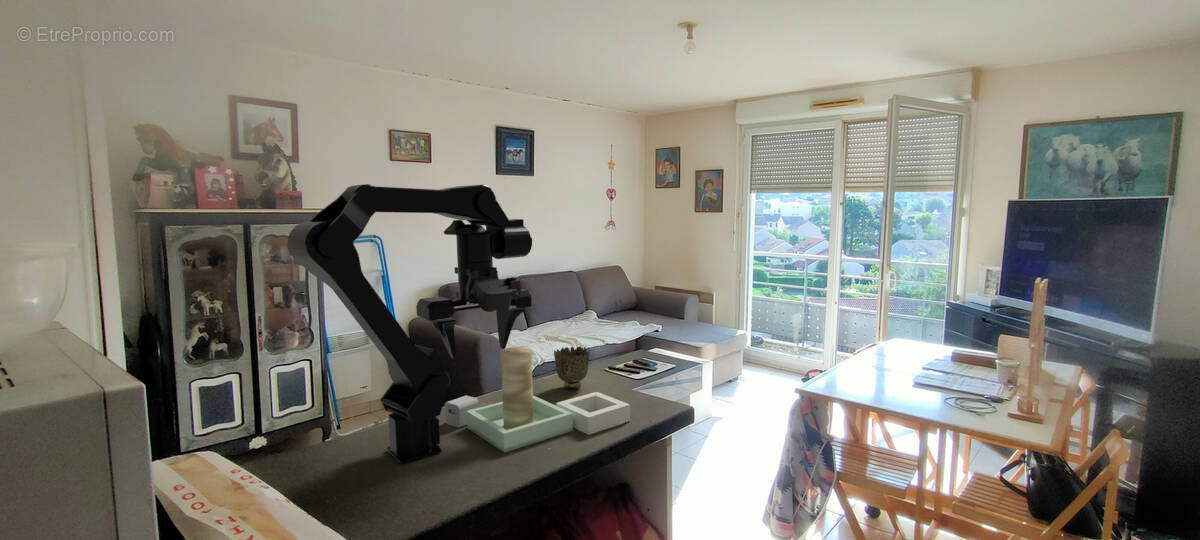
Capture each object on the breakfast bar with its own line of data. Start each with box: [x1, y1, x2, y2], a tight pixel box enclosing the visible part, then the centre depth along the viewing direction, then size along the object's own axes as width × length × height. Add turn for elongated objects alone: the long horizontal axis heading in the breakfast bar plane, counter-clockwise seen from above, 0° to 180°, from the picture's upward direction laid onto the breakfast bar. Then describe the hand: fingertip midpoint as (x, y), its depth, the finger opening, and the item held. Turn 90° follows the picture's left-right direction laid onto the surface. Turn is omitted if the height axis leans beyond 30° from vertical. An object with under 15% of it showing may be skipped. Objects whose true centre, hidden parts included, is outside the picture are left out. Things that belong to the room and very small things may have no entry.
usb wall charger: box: [444, 395, 487, 429], centre depth 99 cm, size 4×7×4 cm, turn 143°
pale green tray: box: [466, 395, 574, 453], centre depth 94 cm, size 13×13×3 cm
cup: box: [553, 346, 591, 391], centre depth 116 cm, size 8×7×8 cm
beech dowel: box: [500, 346, 534, 430], centre depth 94 cm, size 5×5×13 cm
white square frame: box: [555, 391, 631, 436], centre depth 98 cm, size 9×9×3 cm
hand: (478, 353), depth 94 cm, fingers open, 9 cm apart
